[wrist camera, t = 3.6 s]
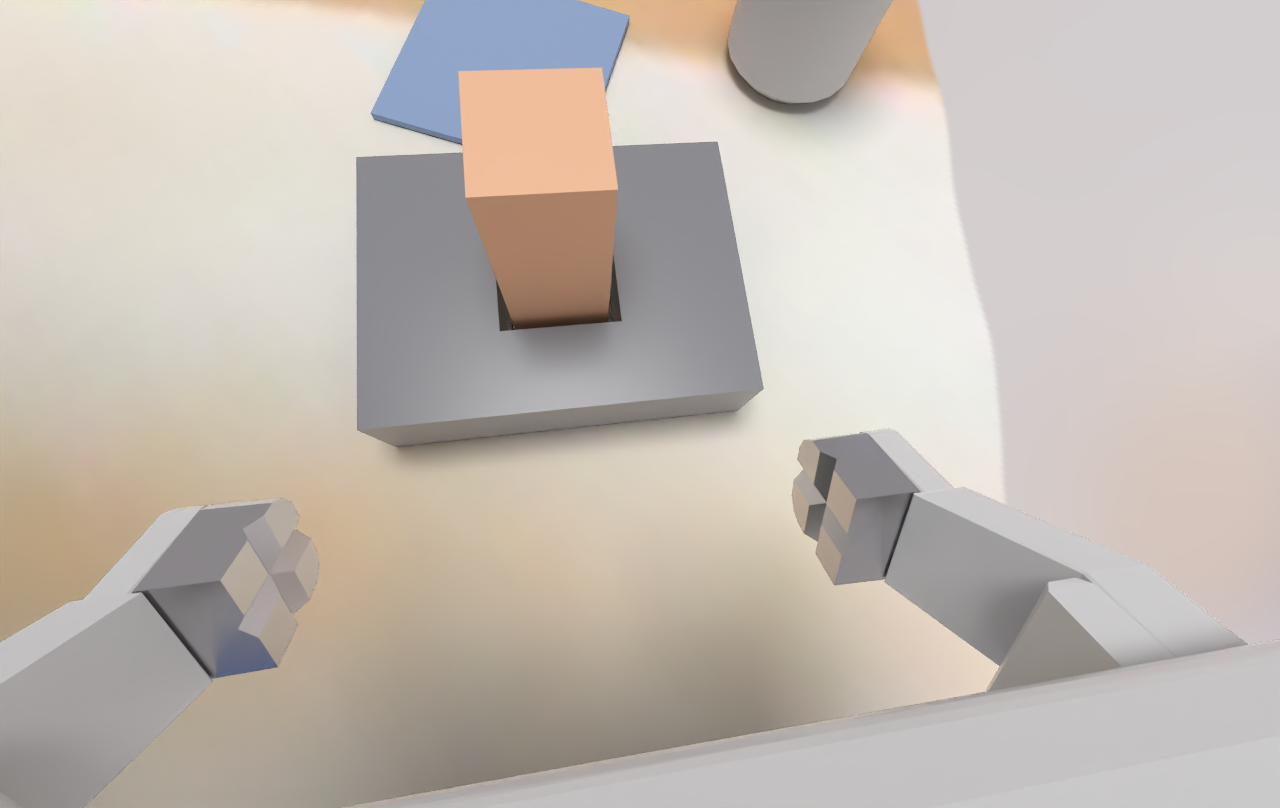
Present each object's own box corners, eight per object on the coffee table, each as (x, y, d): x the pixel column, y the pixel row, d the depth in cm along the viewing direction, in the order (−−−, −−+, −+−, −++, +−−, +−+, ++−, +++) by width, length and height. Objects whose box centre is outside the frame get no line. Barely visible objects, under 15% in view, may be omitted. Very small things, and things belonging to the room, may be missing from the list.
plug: (523, 351, 25) (465, 197, 13) (517, 276, 26) (458, 71, 14) (605, 344, 26) (618, 189, 14) (597, 270, 26) (601, 67, 15)
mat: (373, 118, 27) (370, 112, 27) (446, -32, 30) (444, -40, 30) (575, 177, 28) (575, 171, 27) (629, 22, 30) (629, 15, 30)
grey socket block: (396, 446, 23) (357, 429, 20) (391, 212, 26) (356, 156, 22) (737, 410, 25) (763, 388, 21) (700, 195, 28) (717, 141, 24)
